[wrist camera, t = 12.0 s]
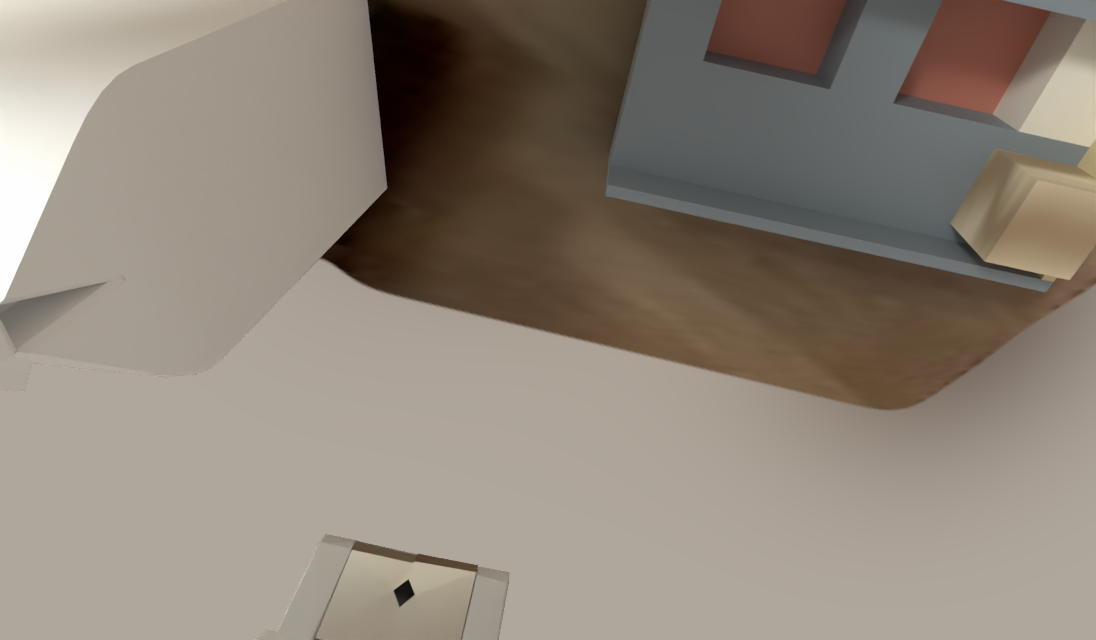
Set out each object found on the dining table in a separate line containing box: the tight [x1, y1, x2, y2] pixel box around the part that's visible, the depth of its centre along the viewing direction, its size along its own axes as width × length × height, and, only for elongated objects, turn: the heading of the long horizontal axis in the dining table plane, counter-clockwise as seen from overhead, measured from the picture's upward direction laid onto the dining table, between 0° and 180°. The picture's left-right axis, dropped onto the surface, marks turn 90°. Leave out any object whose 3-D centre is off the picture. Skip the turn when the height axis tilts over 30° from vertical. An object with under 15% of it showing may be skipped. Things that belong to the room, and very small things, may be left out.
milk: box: [0, 0, 387, 391], centre depth 25 cm, size 12×12×26 cm
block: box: [950, 148, 1096, 280], centre depth 31 cm, size 4×4×4 cm
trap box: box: [605, 0, 1096, 292], centre depth 31 cm, size 12×22×6 cm, turn 79°
